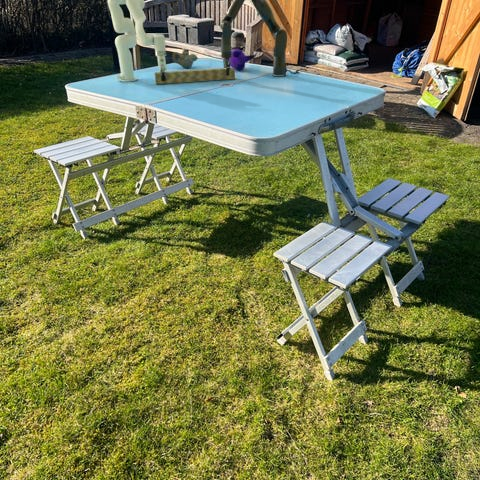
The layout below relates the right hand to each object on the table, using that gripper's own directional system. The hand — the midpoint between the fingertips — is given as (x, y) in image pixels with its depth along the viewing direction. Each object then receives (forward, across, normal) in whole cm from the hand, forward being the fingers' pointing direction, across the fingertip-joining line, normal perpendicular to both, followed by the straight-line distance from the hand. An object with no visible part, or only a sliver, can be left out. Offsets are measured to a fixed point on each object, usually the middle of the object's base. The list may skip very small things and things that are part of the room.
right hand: (227, 74), depth 338 cm
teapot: (+3, +60, +22) cm, 65 cm away
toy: (+3, +34, -19) cm, 40 cm away
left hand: (+1, 0, +48) cm, 48 cm away
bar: (+3, 0, +24) cm, 24 cm away
